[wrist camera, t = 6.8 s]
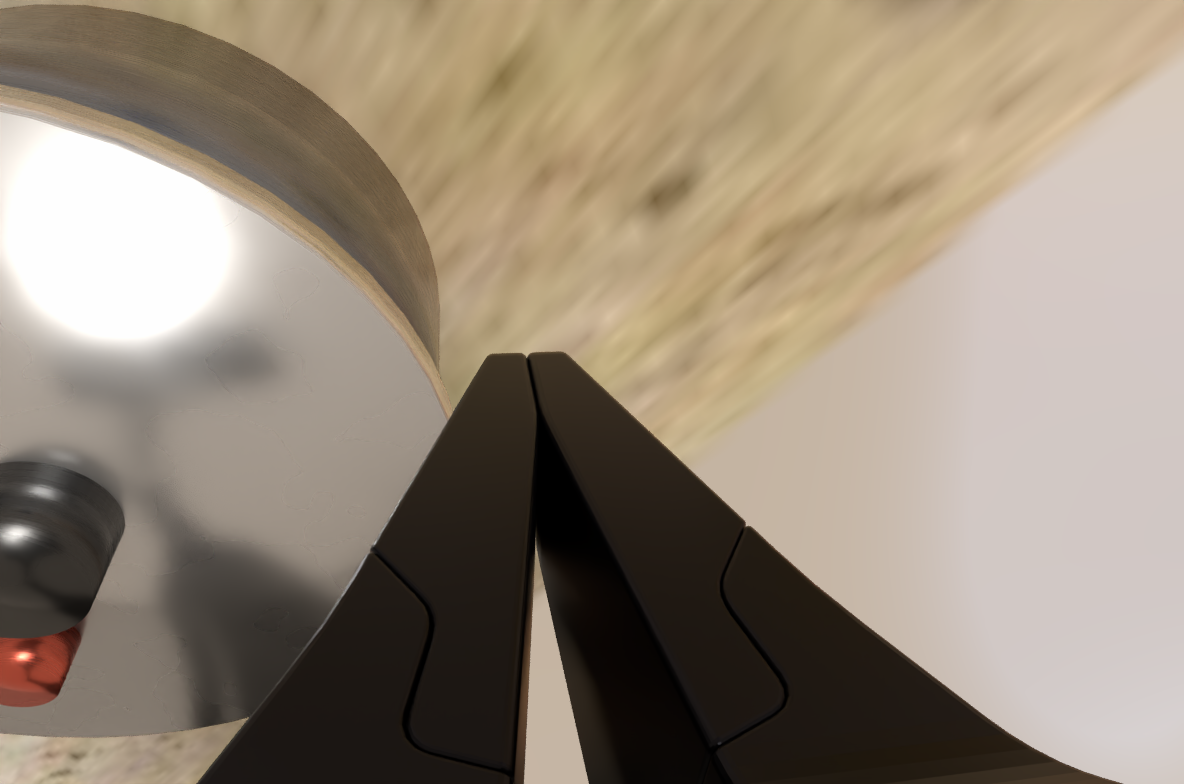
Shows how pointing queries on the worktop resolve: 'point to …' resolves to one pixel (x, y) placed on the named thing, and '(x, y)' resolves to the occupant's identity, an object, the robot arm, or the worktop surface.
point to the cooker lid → (179, 427)
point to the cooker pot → (232, 129)
